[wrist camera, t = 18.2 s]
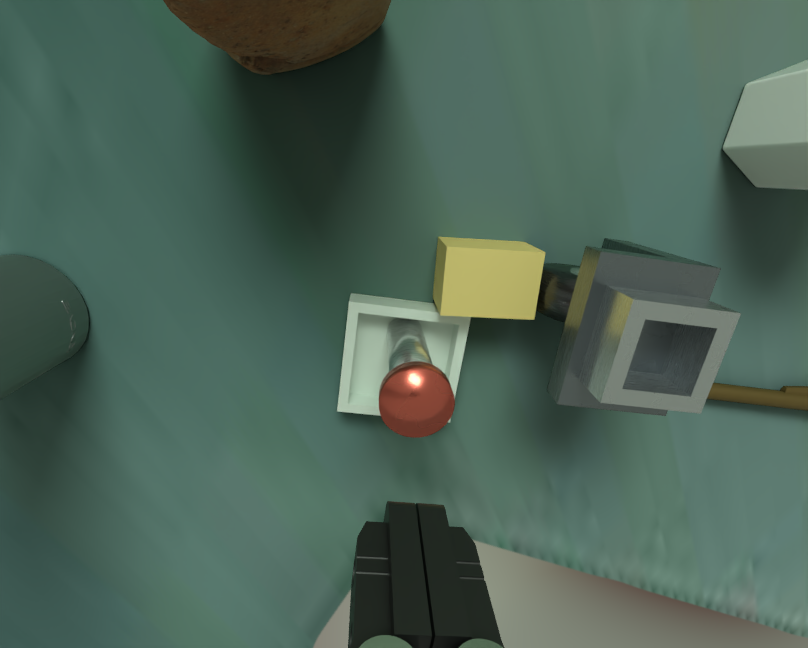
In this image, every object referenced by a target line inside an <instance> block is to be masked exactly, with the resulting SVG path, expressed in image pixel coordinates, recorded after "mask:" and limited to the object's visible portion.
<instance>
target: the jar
mask: <svg viewBox="0 0 808 648" xmlns="http://www.w3.org/2000/svg"><path fill="white" fill-rule="evenodd" d="M723 150H724V152H725V153H726V154H727V155H728V156H729V157H730V158H731V160H732V161H733V162H734V163H735V164H736V165H737V166H738V168H739V169H740V170H741V171H742V172H743V173H744V174H745V176H746V177H747V178H748V179H749V180H750V181H751V182H752V183H753V185H754V186H755V187H757V188H778V189H798V190H808V60H806V61H803V62H800V63H798V64H795V65H793V66H790V67H788V68H785V69H783V70H780V71H777V72H775V73H772V74H770V75H767V76H765V77H762V78H760V79H757V80H754V81H752V82H749V83H747V84H746V85H745V87H744V90H743V93H742V96H741V98H740V101H739V104H738V107H737V109H736V112H735V115H734V118H733V120H732V123H731V126H730V129H729V131H728V134H727V137H726V139H725V142H724V145H723Z"/></svg>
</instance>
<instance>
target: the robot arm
mask: <svg viewBox="0 0 808 648" xmlns="http://www.w3.org/2000/svg"><path fill="white" fill-rule="evenodd" d="M88 330H89V317H88V312H87V307H86V305H85V303H84V300H83V298H82V296H81V294H80V293H79V291H78V290H77V288H76V287H75V286H74V284H73V283H72V282H71V281H70V280H69V279H68V278H67V277H66V276H65V275H64V274H62V273H61V272H60V271H58V270H57V269H55V268H54V267H53V266H51V265H49V264H47V263H45V262H43V261H41V260H38V259H34V258H31V257H28V256H21V255H2V256H0V400H1V399H3V398H4V397H6V396H7V395H9V394H11V393H12V392H14V391H16V390H17V389H19V388H21V387H22V386H24V385H26V384H27V383H29V382H31V381H32V380H34V379H36V378H37V377H39V376H40V375H42V374H44V373H45V372H47V371H49V370H50V369H52V368H54V367H55V366H57V365H59V364H60V363H62V362H63V361H65V360H67V359H68V358H70V357H72V356H73V355H74V354H75V353H76V352H77V351H78V350H79V349H80V348H81V347H82V345H83V343H84V342H85V340H86V337H87V334H88ZM348 641H349V642H348V648H504V646H503V643H502V641H501V637H500V634H499V630H498V627H497V623H496V619H495V615H494V612H493V608H492V605H491V601H490V597H489V594H488V590H487V586H486V583H485V581H484V575H483V571H482V568H481V566H480V560H479V556H478V553H477V549H476V545H475V543H474V542H473V540H472V539H471V538H470V536H469V535H468V533H467V532H466V531H465V529H464V528H463V527H449V525H448V520H447V515H446V510H445V507H444V505H436V504H421V503H416V504H415V503H405V502H390V501H388V502H387V504H386V510H385V516H384V522H368V521H366V523H365V525H364V527H363V528H362V530H361V532H360V533H359V535H358V538H357V545H356V553H355V560H354V568H353V575H352V584H351V604H350V623H349V640H348Z"/></svg>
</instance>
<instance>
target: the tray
mask: <svg viewBox="0 0 808 648" xmlns="http://www.w3.org/2000/svg"><path fill="white" fill-rule="evenodd" d="M396 317H398V318H406V319H415V320H418V321H419V322H420V324H421V326H422V329H423V332H424V336H425V340H426V343H427V347H428V350H429V354H430V357H431V361H432V364H433V365H434V366H436V367H438V368H439V369H440V370H441V371H443V373H444V374H445V375H446V376H447V378H448V380H449V382H450V385H451V388H452V391H453V394H454V399H455V394H456V389H457V384H458V379H459V375H460V370H461V365H462V360H463V355H464V350H465V345H466V340H467V335H468V330H469V325H470V320H471V317H462V316H441V315H440V314H439V311H438V309H437V306H436V304H435V303H427V302H419V301H411V300H403V299H395V298H387V297H379V296H371V295H363V294H355V293H351V295H350V300H349V307H348V316H347V325H346V334H345V344H344V353H343V362H342V371H341V381H340V390H339V399H338V408H337V411H339V412H349V413H359V414H369V415H379V416H381V415H380V411H379V389H380V385H381V383H382V381H383V379H384V377H385V376H386V375H387V374H388V373H389V362H388V345H387V328H388V325H389V323H390V322H391V321H392V320H393V319H394V318H396ZM450 419H451V418H450ZM448 422H449V423H450V420H449V421H448Z"/></svg>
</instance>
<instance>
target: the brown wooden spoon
mask: <svg viewBox="0 0 808 648" xmlns="http://www.w3.org/2000/svg"><path fill="white" fill-rule="evenodd" d="M707 399H713V400H721V401H730V402H738V403H747V404H755V405H764V406H772V407H780V408H789V409H797V410H806V411H808V386H783V387H782V388H781V389H780V391H778V390H770V389H761V388H753V387H745V386H736V385H728V384H720V383H713V384H712V387H711V389H710V392H709V394H708V397H707Z"/></svg>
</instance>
